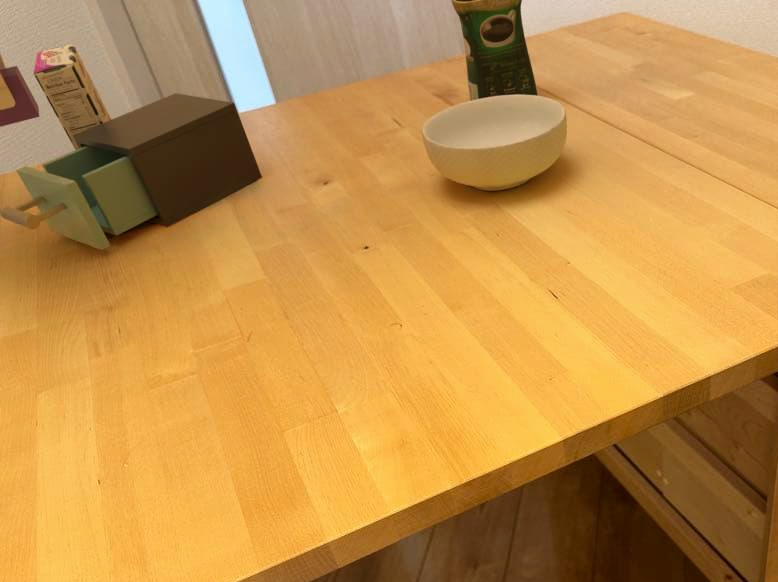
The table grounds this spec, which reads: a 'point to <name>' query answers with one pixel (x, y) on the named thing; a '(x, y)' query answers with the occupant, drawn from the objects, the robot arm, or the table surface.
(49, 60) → the candy bar box
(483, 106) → the cereal bowl
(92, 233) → the light green drawer
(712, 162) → the table surface
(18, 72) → the maroon wooden cube
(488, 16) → the green coffee bag
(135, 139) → the brown drawer cabinet
